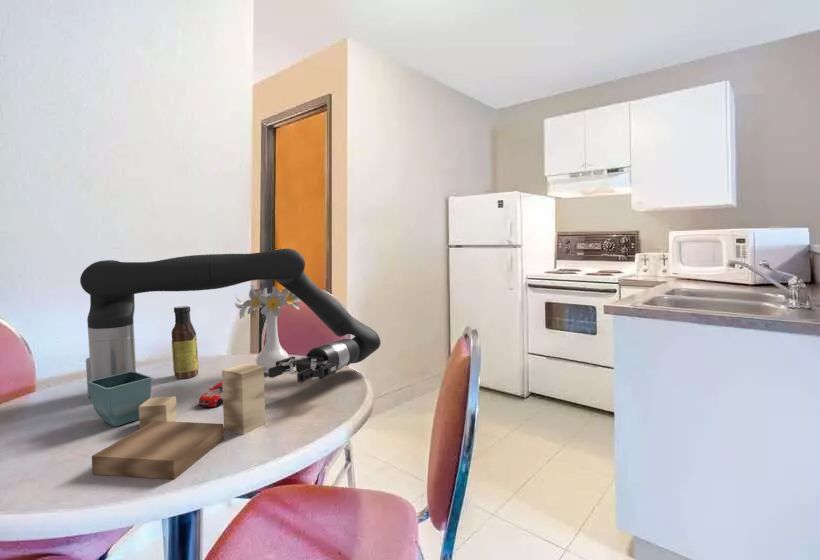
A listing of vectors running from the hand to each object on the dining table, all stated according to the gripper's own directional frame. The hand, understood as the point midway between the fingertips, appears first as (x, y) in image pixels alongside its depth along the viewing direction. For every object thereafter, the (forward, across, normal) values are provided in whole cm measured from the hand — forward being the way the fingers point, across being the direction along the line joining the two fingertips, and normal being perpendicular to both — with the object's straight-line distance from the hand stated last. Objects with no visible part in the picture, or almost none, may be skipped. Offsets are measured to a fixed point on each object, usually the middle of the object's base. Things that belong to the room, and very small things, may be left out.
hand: (283, 375), depth 95 cm
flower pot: (+20, -26, +7) cm, 34 cm away
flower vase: (-20, -24, +8) cm, 33 cm away
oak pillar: (+11, 0, +7) cm, 13 cm away
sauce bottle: (-6, -43, +7) cm, 44 cm away
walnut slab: (+26, -3, +7) cm, 27 cm away
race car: (+2, -18, +8) cm, 19 cm away
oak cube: (+18, -17, +7) cm, 26 cm away
